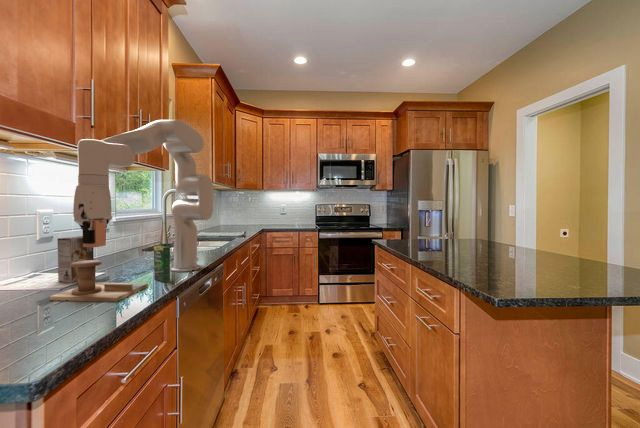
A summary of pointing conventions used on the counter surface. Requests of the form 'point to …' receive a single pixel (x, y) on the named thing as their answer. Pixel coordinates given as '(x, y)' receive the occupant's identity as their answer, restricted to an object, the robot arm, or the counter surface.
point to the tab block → (98, 233)
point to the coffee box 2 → (162, 263)
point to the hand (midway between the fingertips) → (94, 241)
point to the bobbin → (86, 277)
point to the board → (103, 292)
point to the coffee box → (71, 257)
